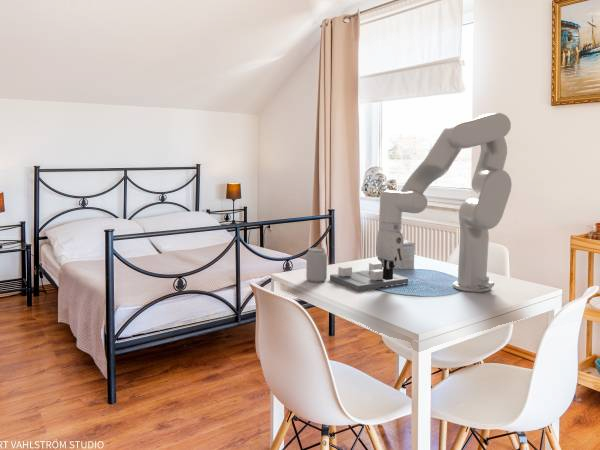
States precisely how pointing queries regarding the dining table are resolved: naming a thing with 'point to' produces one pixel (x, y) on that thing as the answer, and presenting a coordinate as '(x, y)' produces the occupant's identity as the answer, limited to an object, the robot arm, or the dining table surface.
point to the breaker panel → (364, 278)
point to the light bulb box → (407, 256)
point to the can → (316, 265)
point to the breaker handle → (376, 274)
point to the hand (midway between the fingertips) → (387, 279)
